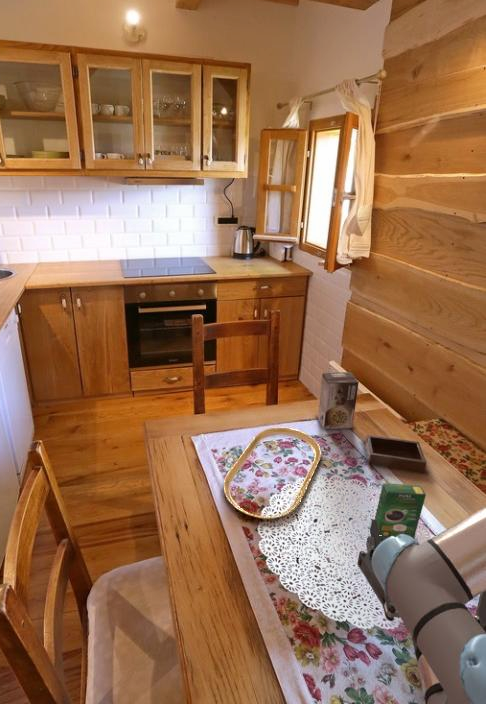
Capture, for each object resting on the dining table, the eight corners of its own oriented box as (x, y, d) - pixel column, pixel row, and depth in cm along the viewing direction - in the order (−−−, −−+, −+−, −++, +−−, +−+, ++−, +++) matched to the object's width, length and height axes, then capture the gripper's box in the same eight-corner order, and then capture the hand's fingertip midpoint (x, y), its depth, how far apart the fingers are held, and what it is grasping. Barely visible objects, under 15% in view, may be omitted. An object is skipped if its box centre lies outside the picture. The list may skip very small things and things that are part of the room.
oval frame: (328, 444, 115) (328, 439, 114) (286, 536, 86) (286, 530, 85) (266, 424, 123) (267, 420, 123) (209, 502, 94) (209, 497, 94)
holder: (424, 474, 104) (426, 462, 103) (368, 465, 107) (370, 454, 106) (416, 452, 112) (418, 441, 111) (364, 445, 115) (366, 434, 114)
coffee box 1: (345, 417, 128) (351, 371, 122) (352, 429, 122) (360, 382, 116) (316, 417, 127) (322, 372, 121) (322, 430, 121) (328, 382, 115)
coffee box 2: (409, 531, 88) (421, 483, 83) (414, 543, 85) (427, 494, 80) (371, 529, 88) (381, 481, 83) (375, 541, 85) (385, 492, 81)
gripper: (346, 656, 58) (338, 534, 77) (545, 706, 53) (483, 562, 72) (353, 621, 55) (343, 503, 74) (563, 670, 50) (494, 530, 69)
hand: (412, 532), depth 73 cm, fingers open, 13 cm apart
